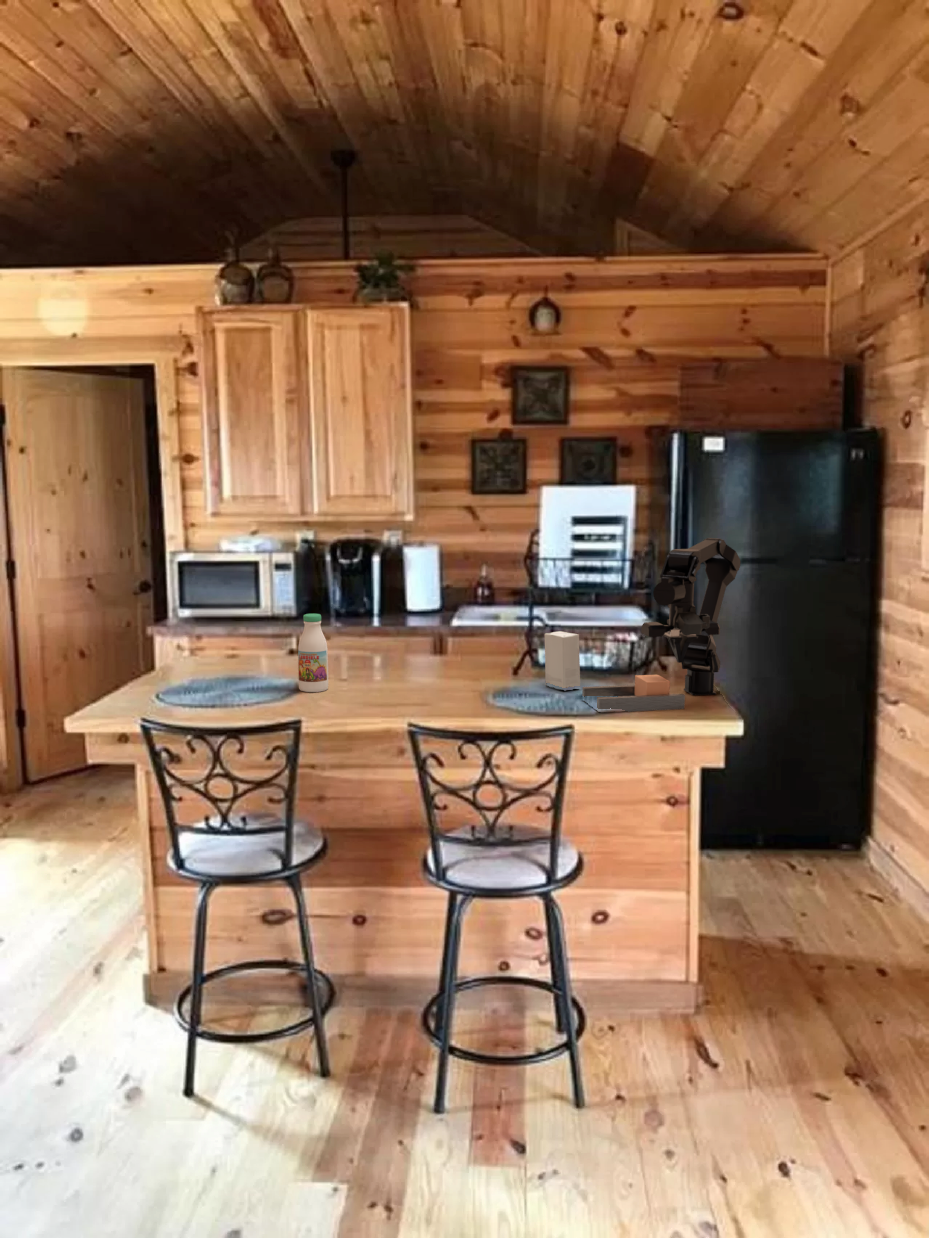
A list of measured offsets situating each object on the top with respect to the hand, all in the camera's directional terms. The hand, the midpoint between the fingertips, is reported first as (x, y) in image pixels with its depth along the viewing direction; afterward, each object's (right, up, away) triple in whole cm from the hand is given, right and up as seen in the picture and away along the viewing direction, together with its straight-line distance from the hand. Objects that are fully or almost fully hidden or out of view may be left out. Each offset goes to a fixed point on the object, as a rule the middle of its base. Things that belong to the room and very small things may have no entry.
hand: (679, 662), depth 260 cm
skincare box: (-28, -8, +17) cm, 34 cm away
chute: (-12, -11, -1) cm, 16 cm away
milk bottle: (-93, -8, +14) cm, 95 cm away
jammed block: (-7, -9, 0) cm, 11 cm away
